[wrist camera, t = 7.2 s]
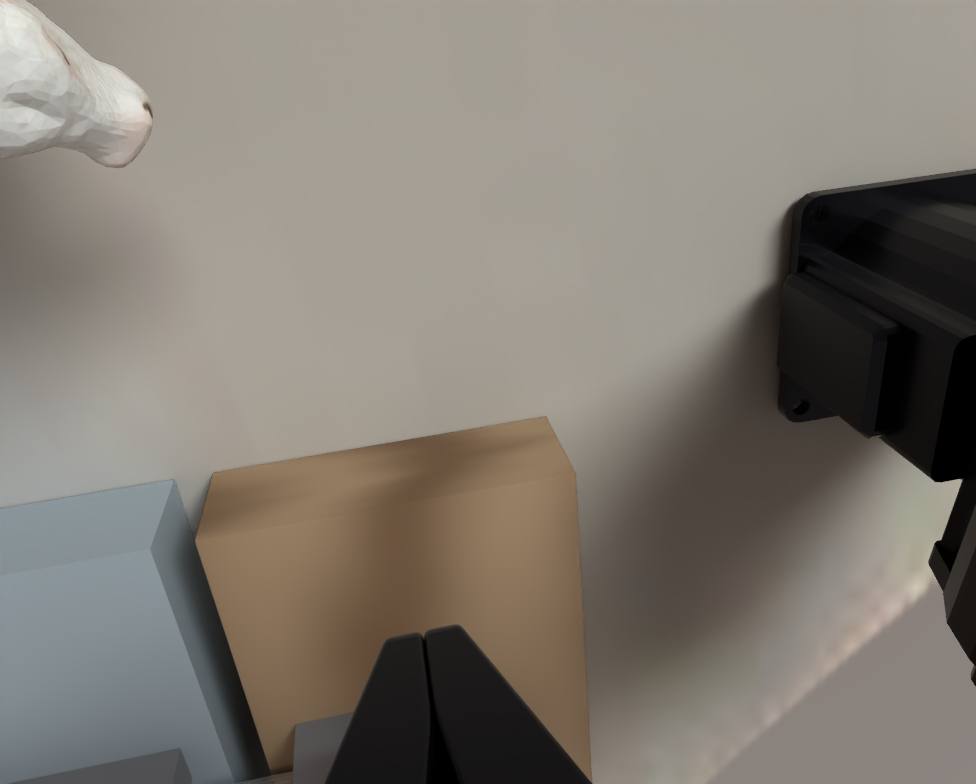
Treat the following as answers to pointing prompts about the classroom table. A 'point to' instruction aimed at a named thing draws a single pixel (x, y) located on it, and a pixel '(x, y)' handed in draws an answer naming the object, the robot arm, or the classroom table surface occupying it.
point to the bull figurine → (64, 94)
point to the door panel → (115, 648)
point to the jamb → (398, 577)
